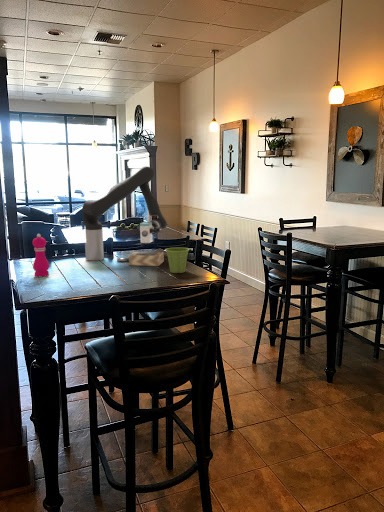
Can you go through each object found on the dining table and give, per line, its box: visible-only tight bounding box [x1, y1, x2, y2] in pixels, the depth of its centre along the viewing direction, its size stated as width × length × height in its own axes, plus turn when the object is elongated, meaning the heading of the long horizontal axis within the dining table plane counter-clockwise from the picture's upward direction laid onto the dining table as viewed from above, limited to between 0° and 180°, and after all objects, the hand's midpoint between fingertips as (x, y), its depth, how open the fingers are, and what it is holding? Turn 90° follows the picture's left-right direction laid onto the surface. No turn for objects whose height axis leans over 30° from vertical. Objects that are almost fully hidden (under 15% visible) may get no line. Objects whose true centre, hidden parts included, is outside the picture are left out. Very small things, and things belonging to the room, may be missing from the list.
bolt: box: [117, 255, 130, 263], centre depth 228 cm, size 8×3×3 cm, turn 103°
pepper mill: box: [32, 233, 50, 278], centre depth 195 cm, size 7×7×20 cm
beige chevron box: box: [128, 251, 165, 267], centre depth 224 cm, size 16×13×5 cm
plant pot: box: [164, 247, 190, 274], centre depth 201 cm, size 12×12×11 cm
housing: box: [139, 221, 153, 244], centre depth 221 cm, size 5×7×10 cm
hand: (145, 231), depth 218 cm, fingers closed on housing, 5 cm apart
